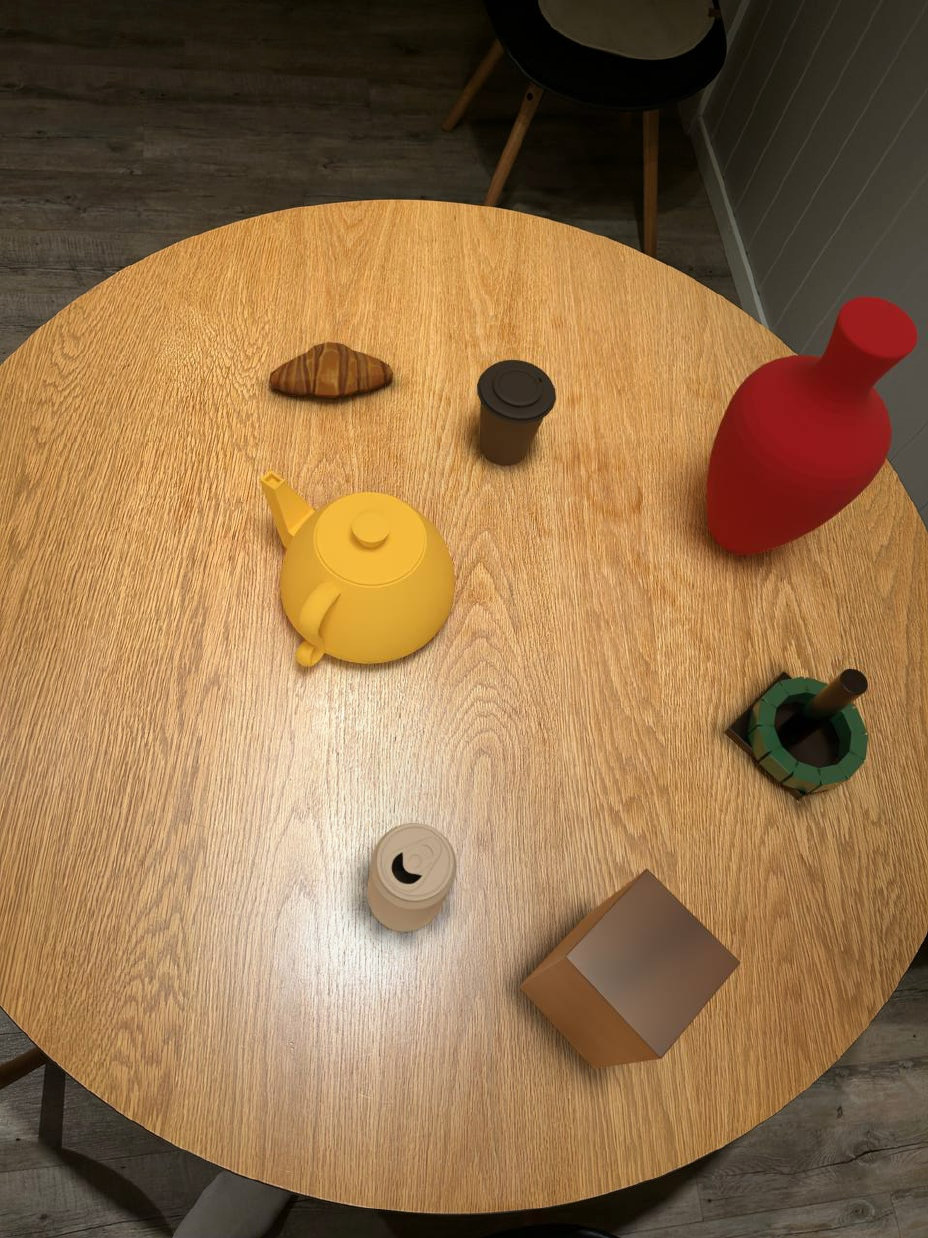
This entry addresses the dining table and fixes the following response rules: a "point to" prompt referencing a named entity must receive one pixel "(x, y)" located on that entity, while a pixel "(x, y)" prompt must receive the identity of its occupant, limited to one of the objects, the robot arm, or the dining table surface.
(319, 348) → the croissant
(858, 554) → the dining table surface
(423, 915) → the beverage can
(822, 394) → the vase
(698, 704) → the dining table surface
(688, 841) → the dining table surface
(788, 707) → the post
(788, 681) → the ring
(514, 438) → the coffee cup
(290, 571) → the teapot
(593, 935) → the brown rectangular block
